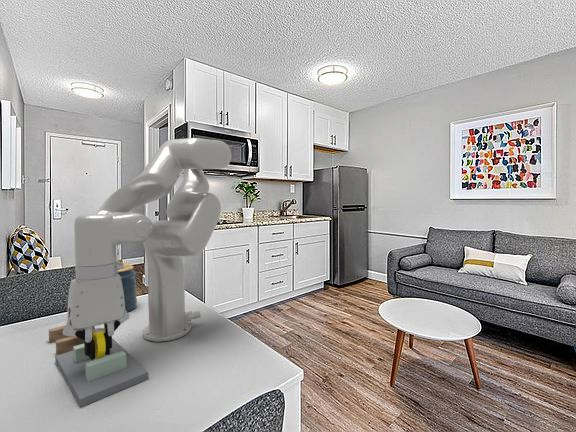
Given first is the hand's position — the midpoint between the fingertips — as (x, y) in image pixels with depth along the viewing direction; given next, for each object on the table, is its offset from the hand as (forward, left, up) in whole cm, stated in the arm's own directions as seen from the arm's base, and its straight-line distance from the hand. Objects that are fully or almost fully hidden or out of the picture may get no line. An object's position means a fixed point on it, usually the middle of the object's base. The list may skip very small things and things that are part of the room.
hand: (98, 354), depth 66 cm
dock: (0, 0, -4) cm, 4 cm away
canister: (-15, -38, -4) cm, 41 cm away
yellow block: (0, 0, -1) cm, 1 cm away
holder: (0, -20, -4) cm, 20 cm away
